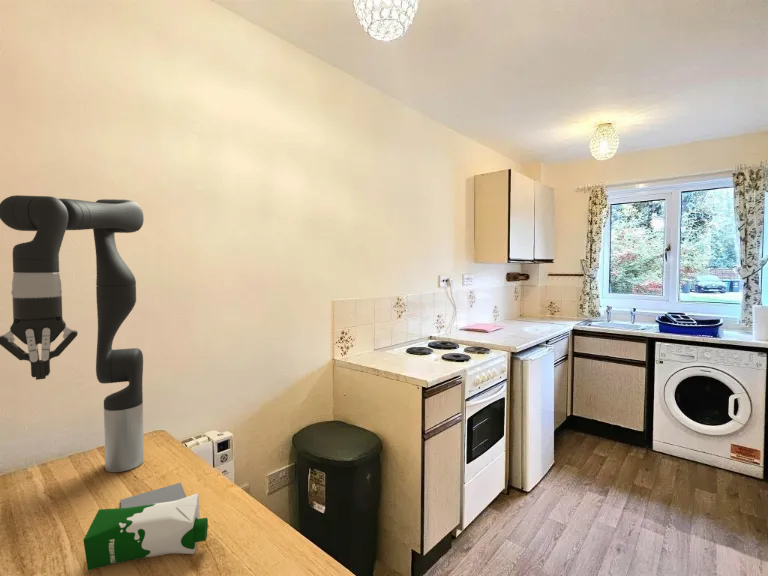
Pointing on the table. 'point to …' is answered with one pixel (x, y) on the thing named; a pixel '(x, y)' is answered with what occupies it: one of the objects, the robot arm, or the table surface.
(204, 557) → the table surface
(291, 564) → the table surface
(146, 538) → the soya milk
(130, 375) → the robot arm
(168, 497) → the mat
